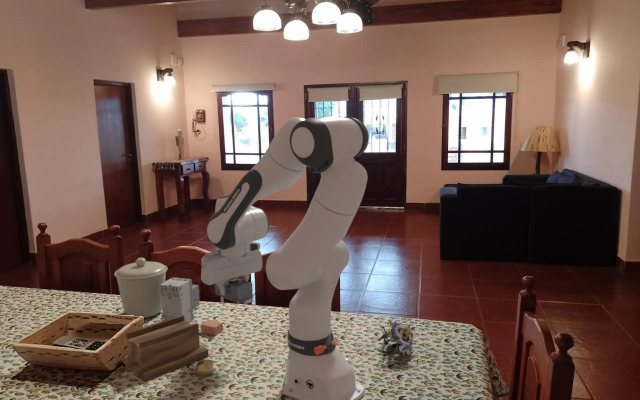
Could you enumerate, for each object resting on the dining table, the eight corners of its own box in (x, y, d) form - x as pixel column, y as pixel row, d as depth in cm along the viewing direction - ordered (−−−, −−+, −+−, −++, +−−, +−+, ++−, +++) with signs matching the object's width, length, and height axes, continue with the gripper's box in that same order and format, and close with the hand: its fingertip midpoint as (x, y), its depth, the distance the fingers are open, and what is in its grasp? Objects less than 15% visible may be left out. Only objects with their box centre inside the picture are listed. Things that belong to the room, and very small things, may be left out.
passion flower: (406, 371, 145) (408, 352, 137) (372, 358, 149) (372, 340, 140) (416, 339, 152) (419, 319, 144) (383, 328, 156) (384, 308, 147)
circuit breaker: (202, 312, 177) (200, 273, 174) (181, 328, 163) (178, 286, 161) (184, 310, 179) (182, 272, 176) (162, 326, 165) (159, 284, 163)
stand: (208, 355, 144) (207, 326, 143) (144, 381, 130) (142, 348, 129) (182, 338, 155) (180, 311, 154) (120, 360, 142) (118, 330, 140)
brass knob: (216, 373, 134) (215, 363, 134) (202, 379, 131) (202, 369, 131) (207, 367, 137) (207, 357, 137) (194, 373, 134) (193, 363, 134)
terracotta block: (223, 331, 161) (222, 322, 161) (215, 336, 158) (215, 327, 157) (208, 328, 164) (208, 319, 164) (201, 332, 160) (200, 324, 160)
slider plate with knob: (256, 300, 143) (255, 281, 142) (241, 305, 139) (240, 285, 138) (227, 288, 154) (226, 270, 153) (212, 292, 150) (211, 274, 149)
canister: (125, 327, 164) (121, 268, 160) (112, 311, 178) (107, 256, 175) (177, 315, 175) (173, 259, 171) (160, 300, 189) (157, 248, 185)
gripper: (207, 256, 135) (209, 303, 137) (264, 243, 149) (266, 285, 151) (195, 252, 139) (198, 297, 142) (252, 239, 154) (254, 281, 156)
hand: (233, 291), depth 146 cm, fingers closed on slider plate with knob, 5 cm apart
